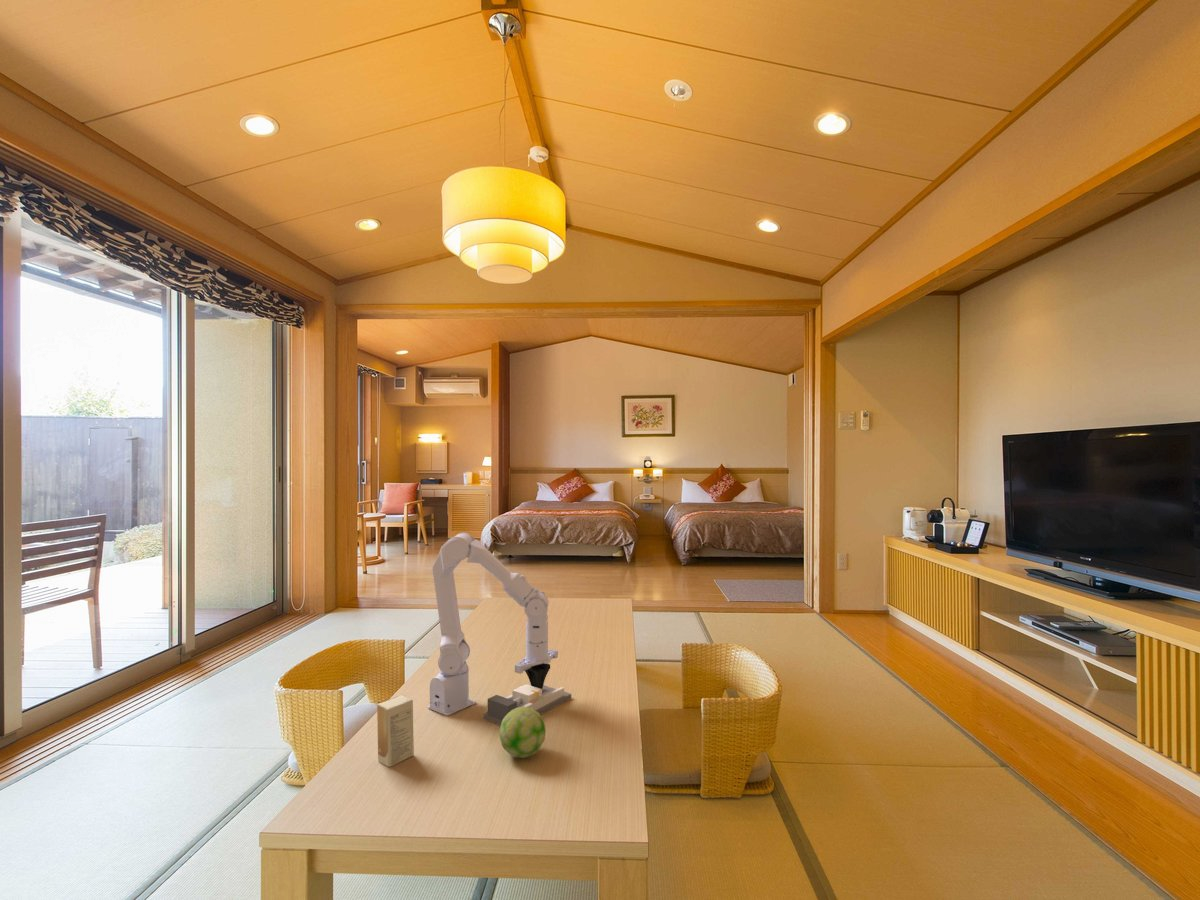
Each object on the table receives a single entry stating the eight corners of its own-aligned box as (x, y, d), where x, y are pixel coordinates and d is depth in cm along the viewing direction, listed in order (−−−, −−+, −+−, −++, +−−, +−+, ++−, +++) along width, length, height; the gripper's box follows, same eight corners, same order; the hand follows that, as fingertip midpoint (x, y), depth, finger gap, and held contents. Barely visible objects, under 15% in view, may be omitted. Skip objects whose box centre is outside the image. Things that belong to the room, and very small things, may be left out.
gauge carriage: (524, 715, 141) (524, 699, 141) (504, 708, 145) (504, 692, 145) (546, 704, 147) (546, 689, 147) (525, 697, 151) (525, 682, 151)
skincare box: (403, 749, 127) (403, 693, 128) (414, 756, 125) (414, 698, 125) (376, 761, 122) (376, 703, 123) (387, 768, 120) (387, 708, 120)
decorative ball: (502, 770, 119) (502, 721, 119) (497, 747, 128) (497, 701, 129) (549, 763, 121) (549, 715, 122) (541, 741, 131) (541, 696, 131)
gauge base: (512, 729, 136) (512, 707, 137) (483, 718, 142) (483, 697, 142) (571, 698, 154) (571, 678, 154) (543, 689, 160) (543, 670, 160)
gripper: (529, 650, 143) (529, 706, 143) (566, 636, 154) (566, 687, 154) (508, 645, 147) (508, 699, 147) (546, 631, 159) (546, 681, 158)
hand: (537, 692), depth 151 cm, fingers closed
